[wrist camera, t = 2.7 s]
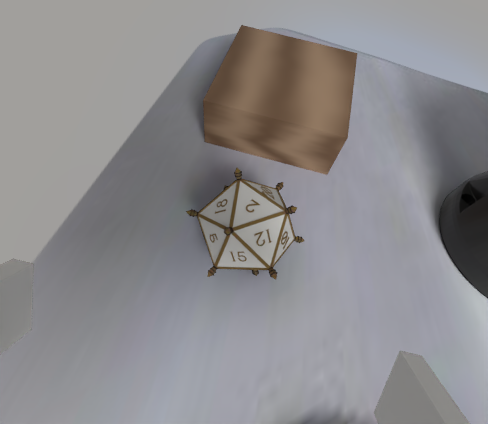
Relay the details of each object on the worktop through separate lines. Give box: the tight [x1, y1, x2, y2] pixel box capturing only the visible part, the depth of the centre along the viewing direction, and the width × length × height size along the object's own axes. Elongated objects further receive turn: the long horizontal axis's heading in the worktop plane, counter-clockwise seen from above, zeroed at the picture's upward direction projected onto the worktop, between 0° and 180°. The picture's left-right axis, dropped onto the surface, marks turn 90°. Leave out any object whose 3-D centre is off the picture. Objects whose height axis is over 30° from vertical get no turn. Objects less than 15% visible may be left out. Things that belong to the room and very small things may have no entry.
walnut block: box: [203, 25, 357, 174], centre depth 34 cm, size 14×14×6 cm
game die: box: [186, 168, 304, 279], centre depth 24 cm, size 9×8×10 cm
